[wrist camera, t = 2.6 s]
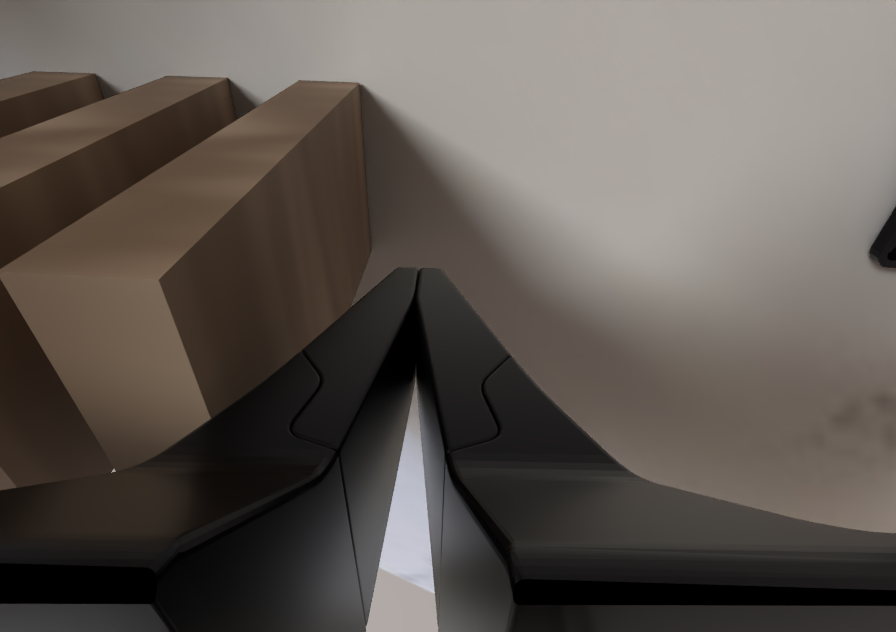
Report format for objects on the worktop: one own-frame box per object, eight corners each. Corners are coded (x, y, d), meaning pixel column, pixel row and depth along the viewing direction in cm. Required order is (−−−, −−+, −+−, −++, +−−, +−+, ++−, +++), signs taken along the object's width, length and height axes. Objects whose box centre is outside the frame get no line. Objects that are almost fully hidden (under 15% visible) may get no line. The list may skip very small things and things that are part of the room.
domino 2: (359, 83, 13) (157, 279, 5) (371, 250, 16) (261, 550, 8) (299, 80, 13) (-5, 271, 5) (322, 248, 16) (160, 545, 8)
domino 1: (227, 77, 13) (-164, 267, 5) (264, 246, 16) (63, 543, 8) (167, 76, 13) (-332, 261, 5) (214, 245, 16) (-40, 540, 8)
